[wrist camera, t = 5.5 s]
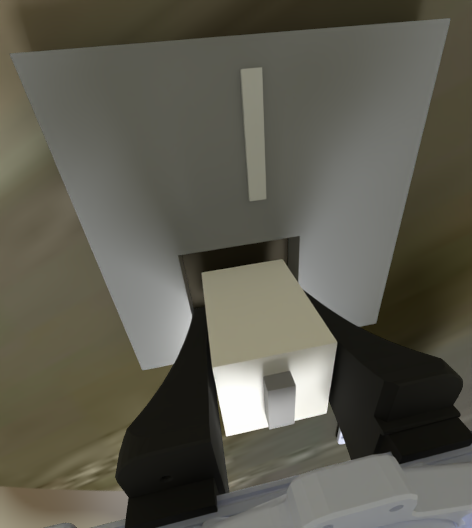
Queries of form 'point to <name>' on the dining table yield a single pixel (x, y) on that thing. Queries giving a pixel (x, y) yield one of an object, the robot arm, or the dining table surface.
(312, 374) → the block
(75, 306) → the dining table surface
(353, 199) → the socket plate
